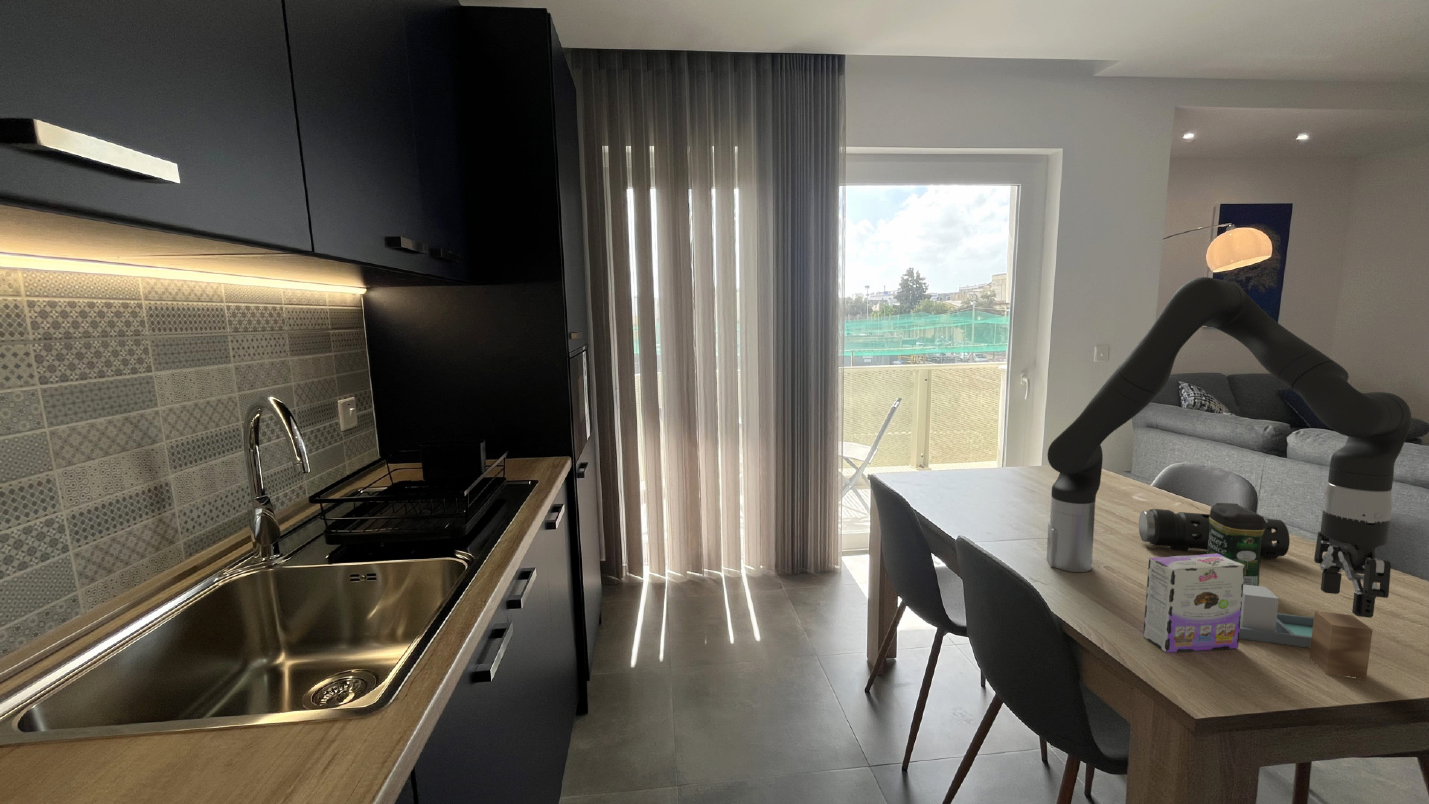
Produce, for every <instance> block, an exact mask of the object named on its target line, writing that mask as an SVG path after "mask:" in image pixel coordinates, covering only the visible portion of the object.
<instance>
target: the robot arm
mask: <svg viewBox="0 0 1429 804" xmlns="http://www.w3.org/2000/svg"><path fill="white" fill-rule="evenodd" d="M1202 327H1208V328H1211V327H1212V328H1214V329H1216V330H1217V331H1218V330H1219V331H1221V332H1222V333H1224V334H1227V335H1228V336H1230V337H1232V338H1233V339H1235V340H1236V341H1238V342H1239V343H1241V344H1242V345H1243V346H1245V348H1247V349H1248V350H1249V352H1251V354H1252V355H1253V356H1254V358H1255V359H1256V360H1257V361H1258V362H1259V364H1260V365H1261V366H1262V367H1263V368H1264V369H1265V370H1266V371H1267V372H1268V373H1269V374H1270V375H1271V376H1273V377H1274V378H1276V380H1278V381H1280V383H1282V384H1284V385H1285V386H1286V387H1287V388H1289V389H1290V390H1291V391H1293V392H1294V393H1296V394H1297V395H1299V396H1300V397H1301V398H1302V400H1303V401H1304V403H1305V404H1306V406H1307V407H1309V409H1310V410H1311V412H1313V414H1314V415H1315V416H1316V417H1317V418H1318V420H1320V422H1321V423H1322V424H1323V425H1325V426H1327V427H1328V428H1329V429H1331V430H1332V431H1334V432H1336V433H1338V434H1340V435H1343V436H1346V437H1347V439H1346V442H1345V445H1344V446H1342V447H1341V448H1339V449H1337V450H1336V451H1334V452H1333V454H1332V455H1331V457H1330V462H1329V471H1328V477H1327V481H1328V482H1327V485H1326V489H1325V491H1324V495H1323V504H1322V505H1323V506H1322V515H1321V523H1320V525H1321V526H1320V531H1318V532H1317V537H1316V544H1315V551H1314V556H1313V557H1314V558H1313V560H1314V563H1315V564H1319V569H1320V571H1322V573H1321V584H1320V590H1321V591H1322V592H1323V593H1325V594H1333V595H1338V594H1340V592H1341V591H1340V590H1341V583H1342V575H1343V574H1341V573H1342V572H1343V571H1344V572H1345V576H1346V578H1347V579H1348V581H1351V582H1352V585H1353V588H1354V593H1353V601H1352V614H1353V615H1354V616H1355V617H1359V618H1361V617H1362V618H1368V619H1369V618H1373V616H1374V612H1375V611H1374V610H1375V603H1376V598H1384V599H1388V598H1389V593H1390V584H1391V582H1390V581H1391V572H1392V571H1391V568H1392V564H1391V562H1390V561H1389V560H1385V559H1378V558H1377V555H1376V548H1379V547H1383V546H1386V545H1387V544H1388V542H1389V535H1390V527H1391V519H1392V510H1393V496H1392V493H1393V492H1392V491H1393V484H1394V475H1395V464H1396V461H1397V459H1398V457H1399V456H1400V454H1401V451H1402V449H1403V446H1404V444H1405V442H1406V440H1407V437H1408V434H1409V432H1410V430H1411V425H1412V411H1411V409H1410V406H1409V404H1408V403H1407V402H1406V401H1405V400H1404V399H1403V398H1402V397H1400V395H1399V396H1398V395H1396V394H1394V393H1391V392H1386V391H1372V392H1363V393H1362V392H1361V391H1359V390H1357V388H1355V387H1353V386H1352V385H1351V383H1349V382H1348V380H1349V377H1350V376H1349V373H1348V371H1347V370H1346V369H1345V368H1344V367H1343V366H1341V365H1340V364H1339V363H1338V362H1337V361H1335V360H1333V359H1332V358H1330V357H1329V356H1327V355H1326V354H1324V353H1323V352H1321V351H1320V350H1318V349H1317V348H1315V347H1314V346H1313V345H1310V344H1309V343H1308V342H1306V341H1305V340H1303V338H1302V339H1301V337H1298V336H1297V335H1295V334H1294V333H1292V332H1291V331H1290V330H1288V329H1287V328H1285V327H1284V326H1282V325H1281V324H1280V323H1278V321H1276V320H1275V319H1274V318H1272V316H1270V315H1269V314H1268V313H1267V312H1266V311H1264V310H1263V308H1261V307H1260V306H1259V305H1258V304H1257V302H1255V300H1253V299H1252V298H1251V296H1249V294H1247V293H1246V291H1244V290H1243V288H1241V287H1240V285H1239V286H1238V285H1237V284H1236V283H1234V282H1231V281H1227V280H1223V279H1219V278H1214V277H1209V276H1208V277H1207V276H1202V277H1201V276H1200V277H1196V278H1193V279H1191V280H1189V281H1187V282H1185V283H1184V284H1183V285H1181V286H1180V287H1179V288H1178V289H1177V290H1176V291H1175V293H1174V294H1173V295H1172V296H1171V297H1170V299H1169V300H1168V302H1167V304H1166V305H1165V306H1164V308H1163V309H1162V311H1161V312H1160V314H1159V316H1158V317H1157V319H1156V320H1155V322H1154V323H1153V324H1152V325H1151V327H1150V329H1148V331H1147V332H1146V334H1145V335H1144V336H1143V337H1142V339H1141V340H1139V342H1138V343H1137V345H1136V346H1135V347H1134V348H1133V350H1132V351H1131V352H1130V353H1129V354H1128V355H1127V357H1126V358H1125V359H1124V360H1123V361H1122V362H1121V363H1120V365H1119V366H1118V367H1117V368H1116V369H1115V370H1114V372H1113V373H1112V374H1111V375H1109V378H1108V379H1107V380H1106V381H1105V382H1104V384H1103V385H1102V386H1101V387H1100V388H1099V390H1098V391H1097V393H1095V395H1094V396H1093V397H1092V398H1091V400H1090V401H1089V403H1088V404H1087V405H1086V407H1085V408H1084V409H1083V411H1082V412H1081V413H1080V415H1078V416H1077V417H1076V418H1075V420H1074V421H1072V422H1071V423H1070V424H1069V426H1067V427H1066V428H1065V430H1064V431H1062V432H1061V433H1060V434H1059V435H1058V436H1057V437H1055V439H1054V440H1052V442H1051V443H1050V445H1049V447H1048V449H1047V462H1048V464H1049V466H1051V468H1052V469H1053V470H1054V471H1056V472H1059V474H1058V476H1057V479H1056V480H1055V481H1054V483H1053V485H1052V486H1051V493H1050V494H1051V497H1050V498H1051V499H1050V500H1051V501H1050V518H1049V519H1050V521H1049V522H1048V523H1047V543H1046V560H1047V562H1048V564H1049V567H1051V568H1056V569H1059V570H1062V571H1066V572H1071V573H1072V572H1074V573H1085V572H1089V571H1091V570H1092V566H1093V553H1094V552H1093V551H1094V550H1093V549H1094V536H1095V535H1094V533H1095V532H1094V530H1095V513H1096V498H1097V493H1098V491H1099V488H1100V486H1101V478H1102V471H1103V461H1104V460H1103V459H1104V458H1103V449H1102V448H1103V447H1102V445H1101V444H1102V443H1103V442H1104V441H1105V440H1106V439H1107V438H1108V437H1109V436H1110V435H1111V434H1112V433H1114V432H1115V431H1117V430H1118V429H1119V428H1120V427H1122V426H1123V425H1124V424H1126V423H1127V422H1129V421H1130V420H1132V419H1133V418H1134V417H1135V416H1136V415H1138V414H1140V412H1142V411H1143V410H1144V409H1145V408H1146V407H1147V406H1149V404H1150V403H1151V402H1152V401H1153V400H1154V399H1155V398H1156V397H1157V396H1158V394H1159V393H1160V392H1161V391H1162V390H1163V388H1164V387H1165V386H1166V384H1167V383H1168V380H1169V379H1170V376H1171V373H1172V371H1173V367H1174V363H1175V361H1176V357H1177V355H1178V354H1179V352H1180V351H1181V350H1182V348H1183V346H1184V345H1185V344H1186V343H1187V342H1188V341H1189V339H1190V338H1191V337H1192V336H1194V334H1195V333H1197V331H1199V329H1201V328H1202ZM1323 554H1324V555H1323ZM1362 584H1363V585H1362ZM1378 584H1379V585H1378Z"/></svg>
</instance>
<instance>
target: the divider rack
mask: <svg viewBox="0 0 1429 804" xmlns="http://www.w3.org/2000/svg"><path fill="white" fill-rule="evenodd" d="M1279 601H1280V598H1279V597H1278V596H1277V595H1275V594H1274V593H1273V592H1272V591H1271V590H1270V589H1269V588H1267V587H1266V586H1261V585H1259V586H1253V585H1244V584H1243V595H1242V606H1241V618H1240V632H1239V640H1240V639H1241V640H1248V641H1249V640H1250V641H1256V642H1264V643H1272V644H1278V645H1284V644H1286V645H1285V646H1292V645H1293V647H1300V648H1306V647H1309V649H1310V647H1311V638H1312V629H1313V621H1314V616H1313V617H1312V616H1305V615H1299V614H1289V613H1280V612H1278V610H1279Z"/></svg>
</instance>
